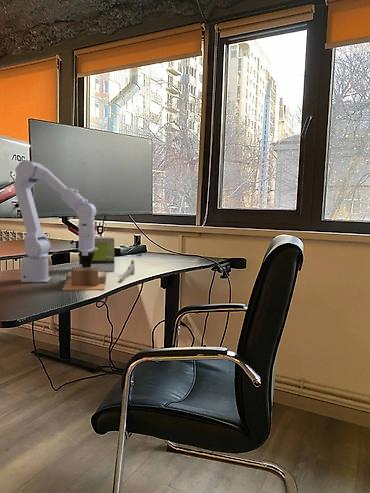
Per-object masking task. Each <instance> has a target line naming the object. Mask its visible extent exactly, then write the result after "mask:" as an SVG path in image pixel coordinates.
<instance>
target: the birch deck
mask: <svg viewBox="0 0 370 493" xmlns="http://www.w3.org/2000/svg"><path fill="white" fill-rule="evenodd" d="M106 283H107V271H104V272H98V284H105V285H106ZM65 284H72V278H71V271H68V273H67V274H66V276H65Z"/></svg>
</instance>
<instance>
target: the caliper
mask: <svg viewBox="0 0 370 493" xmlns="http://www.w3.org/2000/svg"><path fill="white" fill-rule="evenodd" d="M135 264H136V262H135V260H134V259H132V260H131V261H130V264H129V265H128V267H127V269H126V270H125V272H123V274H122V275H121V276H120V278H119V279H118V280H119V281H118V284H121V283H123V282H124V281H125V279H127V277H128V275H135V272H136V271H135V270H136V265H135Z"/></svg>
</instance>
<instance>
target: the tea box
mask: <svg viewBox="0 0 370 493" xmlns="http://www.w3.org/2000/svg"><path fill="white" fill-rule="evenodd" d="M95 248H98V250H94V251H90V253H95V254H94V256H93V259H92V262H91V268H98V272H115V238H114V236H95ZM79 253H82V252H81V251H79V250H78V254H79ZM78 265H79V266H78V267H81V268H82V263H81V260H80V258H79V257H78Z"/></svg>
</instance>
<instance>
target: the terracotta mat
mask: <svg viewBox="0 0 370 493" xmlns="http://www.w3.org/2000/svg"><path fill="white" fill-rule="evenodd" d="M105 288H106V283H105V284H98V286H72V284H66V283H65V284H64V285H63V288H61V289H62V290H61V291H105Z"/></svg>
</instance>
